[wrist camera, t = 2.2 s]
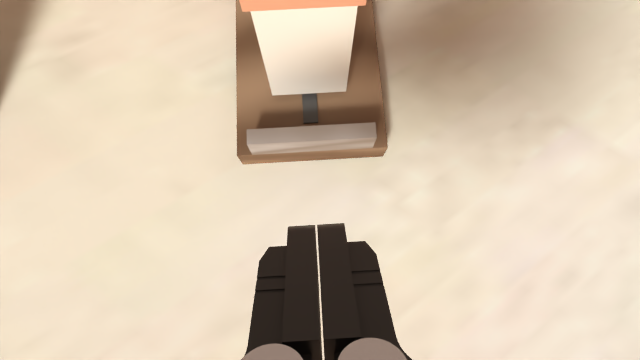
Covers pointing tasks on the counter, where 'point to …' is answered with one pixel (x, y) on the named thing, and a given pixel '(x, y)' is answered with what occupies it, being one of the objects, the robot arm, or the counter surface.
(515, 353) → the counter surface
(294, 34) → the fader knob
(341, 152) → the fader console
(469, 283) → the counter surface
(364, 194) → the counter surface
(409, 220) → the counter surface
